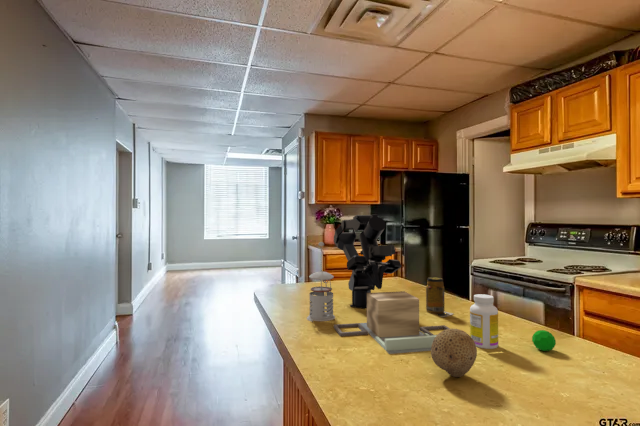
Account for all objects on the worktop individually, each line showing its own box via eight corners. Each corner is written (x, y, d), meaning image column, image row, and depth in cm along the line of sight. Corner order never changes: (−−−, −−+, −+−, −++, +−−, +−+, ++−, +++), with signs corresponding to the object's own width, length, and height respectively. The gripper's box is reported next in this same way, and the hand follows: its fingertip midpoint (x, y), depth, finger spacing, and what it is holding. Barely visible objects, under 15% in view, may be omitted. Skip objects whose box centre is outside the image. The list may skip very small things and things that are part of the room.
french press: (301, 320, 117) (301, 242, 117) (315, 311, 127) (315, 240, 127) (330, 324, 113) (330, 243, 113) (342, 314, 124) (342, 240, 124)
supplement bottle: (496, 342, 96) (496, 294, 96) (500, 351, 90) (499, 299, 90) (469, 340, 98) (469, 292, 99) (470, 348, 92) (470, 297, 92)
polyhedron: (527, 348, 92) (527, 329, 92) (540, 345, 94) (540, 327, 94) (546, 355, 88) (546, 335, 88) (560, 352, 90) (560, 332, 90)
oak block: (366, 326, 109) (366, 293, 109) (404, 323, 111) (404, 291, 111) (378, 337, 99) (378, 300, 99) (419, 334, 102) (419, 298, 102)
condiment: (432, 309, 130) (432, 275, 130) (454, 314, 124) (454, 279, 124) (420, 312, 126) (420, 278, 126) (442, 318, 119) (442, 281, 119)
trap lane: (331, 326, 111) (331, 316, 111) (429, 320, 117) (429, 310, 117) (355, 358, 86) (355, 345, 86) (476, 348, 92) (476, 336, 92)
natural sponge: (452, 390, 70) (451, 338, 70) (421, 372, 79) (421, 325, 79) (486, 381, 74) (486, 332, 74) (454, 364, 82) (454, 320, 82)
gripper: (359, 231, 116) (369, 275, 108) (405, 237, 125) (417, 280, 116) (342, 247, 124) (350, 290, 116) (386, 253, 133) (396, 293, 124)
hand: (379, 288), depth 118 cm, fingers closed
